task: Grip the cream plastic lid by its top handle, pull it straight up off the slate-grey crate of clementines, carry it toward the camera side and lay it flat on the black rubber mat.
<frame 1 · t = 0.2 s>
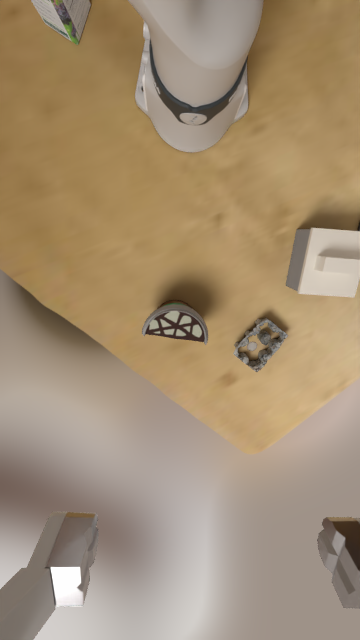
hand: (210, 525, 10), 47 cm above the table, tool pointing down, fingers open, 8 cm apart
lid: (332, 263, 48), point 6 cm above the table, touching crate
food container: (177, 308, 57), on the table
crate: (315, 260, 54), on the table
egg carton: (255, 339, 59), on the table
syrup box: (68, 15, 41), on the table
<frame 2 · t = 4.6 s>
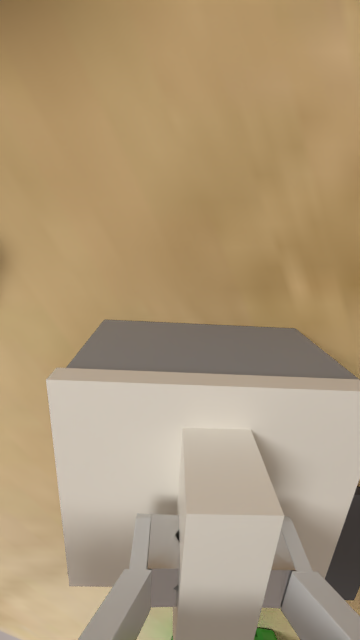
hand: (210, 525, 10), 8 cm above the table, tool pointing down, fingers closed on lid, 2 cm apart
fruit basket: (221, 630, 25), on the table
mat: (282, 542, 21), on the table
lid: (205, 484, 11), point 6 cm above the table, touching crate, gripper
crate: (194, 398, 17), on the table
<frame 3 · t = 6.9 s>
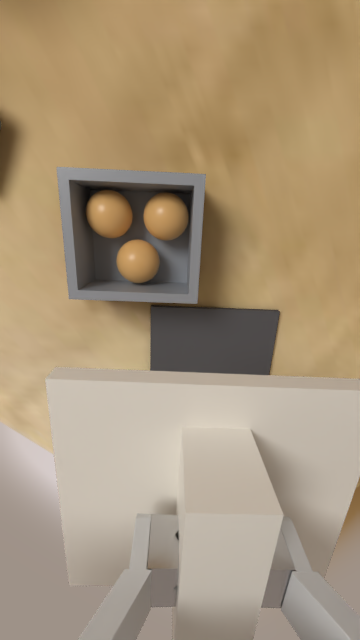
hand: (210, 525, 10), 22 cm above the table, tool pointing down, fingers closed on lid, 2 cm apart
mat: (210, 356, 31), on the table
lid: (205, 483, 11), point 20 cm above the table, touching gripper
crate: (141, 238, 27), on the table
when the fingers open (5 cm above the table, at t = 10.1 s): lid drops 1 cm, resting on mat.
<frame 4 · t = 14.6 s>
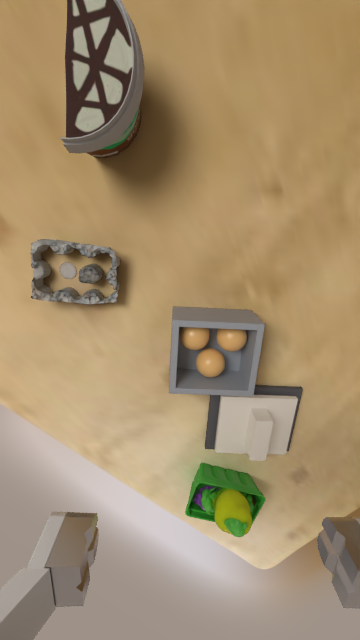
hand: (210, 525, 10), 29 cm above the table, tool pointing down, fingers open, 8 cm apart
fruit basket: (220, 475, 47), on the table
mat: (251, 417, 43), on the table
lid: (253, 423, 42), point 1 cm above the table, touching mat
food container: (124, 115, 30), on the table
crate: (209, 341, 39), on the table
egg carton: (82, 269, 36), on the table
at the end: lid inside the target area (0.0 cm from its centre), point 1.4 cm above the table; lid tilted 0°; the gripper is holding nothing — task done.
